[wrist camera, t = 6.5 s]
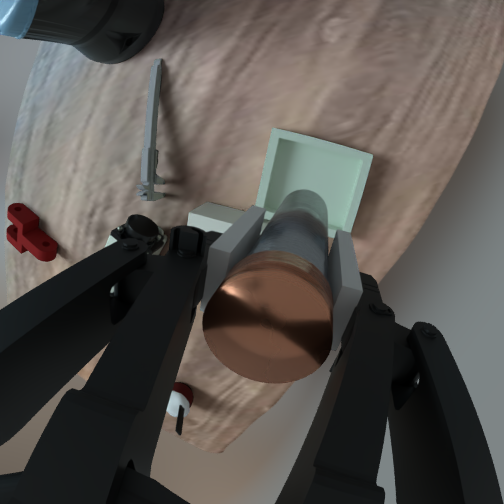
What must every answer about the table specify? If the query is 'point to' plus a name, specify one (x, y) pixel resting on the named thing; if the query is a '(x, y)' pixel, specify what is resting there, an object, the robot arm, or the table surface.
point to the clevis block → (216, 217)
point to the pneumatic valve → (140, 234)
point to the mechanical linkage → (29, 233)
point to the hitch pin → (277, 298)
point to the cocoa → (180, 403)
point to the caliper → (151, 139)
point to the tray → (314, 175)
